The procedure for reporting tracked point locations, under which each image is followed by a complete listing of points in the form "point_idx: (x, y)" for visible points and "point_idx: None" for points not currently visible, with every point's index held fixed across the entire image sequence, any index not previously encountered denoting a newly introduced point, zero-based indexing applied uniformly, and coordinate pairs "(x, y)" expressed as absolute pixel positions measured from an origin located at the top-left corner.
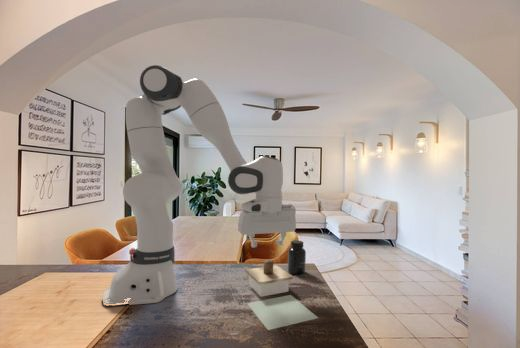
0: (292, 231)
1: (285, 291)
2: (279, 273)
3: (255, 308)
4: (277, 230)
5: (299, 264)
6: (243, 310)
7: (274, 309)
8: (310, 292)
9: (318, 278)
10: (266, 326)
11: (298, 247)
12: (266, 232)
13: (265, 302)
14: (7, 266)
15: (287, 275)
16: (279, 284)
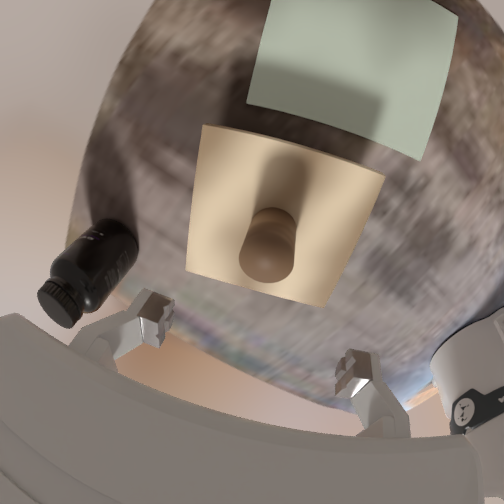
0: (23, 317)
1: None
2: (232, 192)
3: (422, 115)
4: (146, 407)
5: (97, 239)
6: (446, 141)
7: (378, 63)
8: (164, 90)
9: (83, 168)
10: (453, 28)
11: (62, 284)
12: (285, 434)
13: (370, 119)
14: None
15: (215, 151)
16: None
